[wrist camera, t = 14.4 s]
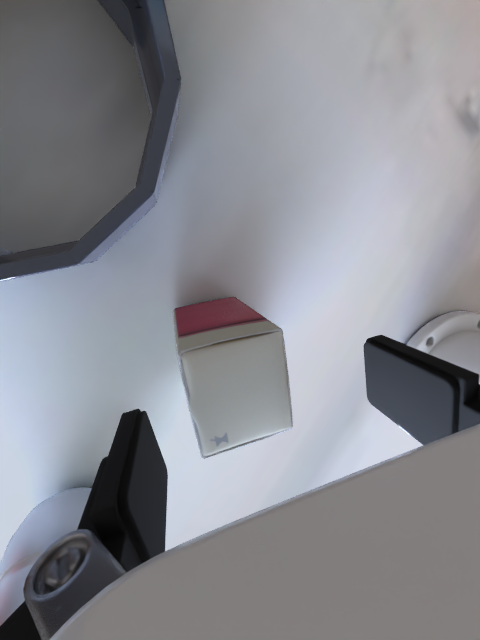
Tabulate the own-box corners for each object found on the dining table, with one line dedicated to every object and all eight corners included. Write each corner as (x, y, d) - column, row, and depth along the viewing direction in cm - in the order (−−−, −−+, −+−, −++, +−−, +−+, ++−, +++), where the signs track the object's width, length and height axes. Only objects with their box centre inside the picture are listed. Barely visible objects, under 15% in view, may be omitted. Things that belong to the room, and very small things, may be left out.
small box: (246, 361, 19) (296, 432, 12) (187, 376, 18) (201, 463, 11) (235, 293, 18) (286, 326, 10) (170, 307, 17) (175, 352, 9)
